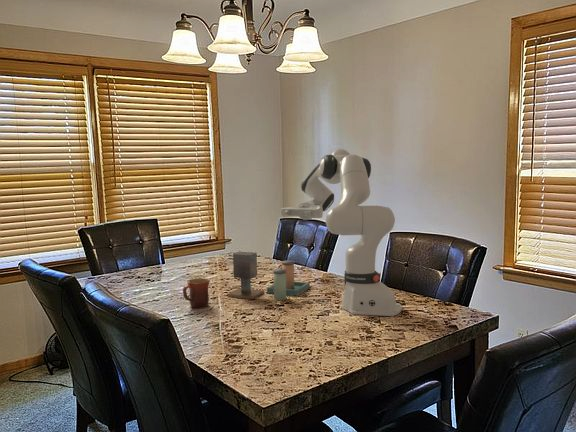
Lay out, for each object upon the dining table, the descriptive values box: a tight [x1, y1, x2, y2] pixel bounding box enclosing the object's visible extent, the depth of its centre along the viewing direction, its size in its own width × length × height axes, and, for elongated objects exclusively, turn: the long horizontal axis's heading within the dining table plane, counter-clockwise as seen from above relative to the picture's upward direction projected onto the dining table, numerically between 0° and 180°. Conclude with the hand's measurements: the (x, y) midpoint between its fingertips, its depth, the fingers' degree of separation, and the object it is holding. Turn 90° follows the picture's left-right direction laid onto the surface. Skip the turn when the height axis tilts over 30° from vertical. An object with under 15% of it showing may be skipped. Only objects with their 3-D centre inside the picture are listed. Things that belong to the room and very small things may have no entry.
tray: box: [266, 280, 310, 297], centre depth 210 cm, size 14×14×2 cm
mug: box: [182, 277, 210, 309], centre depth 188 cm, size 12×9×10 cm
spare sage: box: [272, 268, 287, 301], centre depth 197 cm, size 5×5×12 cm
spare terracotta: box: [281, 259, 295, 290], centre depth 210 cm, size 5×5×12 cm
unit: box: [227, 251, 265, 301], centre depth 203 cm, size 12×10×18 cm
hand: (295, 213), depth 225 cm, fingers open, 8 cm apart
